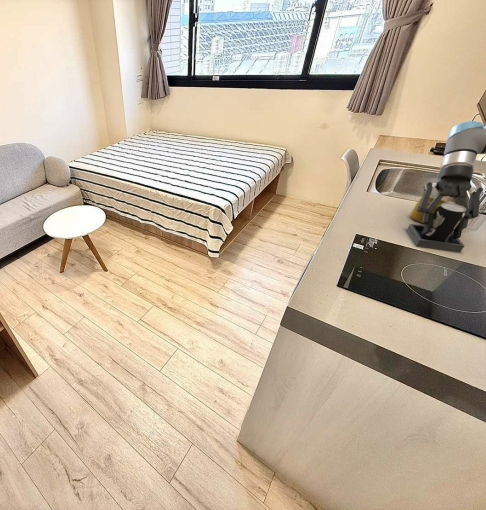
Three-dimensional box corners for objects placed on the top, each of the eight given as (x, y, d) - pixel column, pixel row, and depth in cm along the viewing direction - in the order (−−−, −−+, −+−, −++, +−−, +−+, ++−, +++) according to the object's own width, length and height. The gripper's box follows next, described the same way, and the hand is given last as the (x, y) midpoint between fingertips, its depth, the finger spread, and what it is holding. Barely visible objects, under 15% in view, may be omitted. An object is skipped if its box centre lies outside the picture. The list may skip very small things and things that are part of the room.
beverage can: (414, 235, 96) (433, 203, 89) (432, 233, 96) (452, 201, 89) (432, 245, 90) (454, 212, 83) (450, 243, 91) (474, 210, 84)
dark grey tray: (445, 236, 96) (450, 228, 94) (459, 253, 88) (464, 246, 86) (405, 230, 100) (410, 223, 98) (415, 247, 92) (420, 239, 90)
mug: (420, 223, 99) (435, 196, 96) (399, 218, 109) (412, 193, 106) (456, 231, 99) (472, 203, 95) (432, 225, 108) (445, 200, 105)
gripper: (489, 178, 90) (474, 245, 88) (412, 171, 98) (397, 232, 96) (508, 167, 83) (492, 239, 81) (424, 160, 91) (408, 226, 89)
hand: (440, 235), depth 89 cm, fingers closed on beverage can, 7 cm apart
